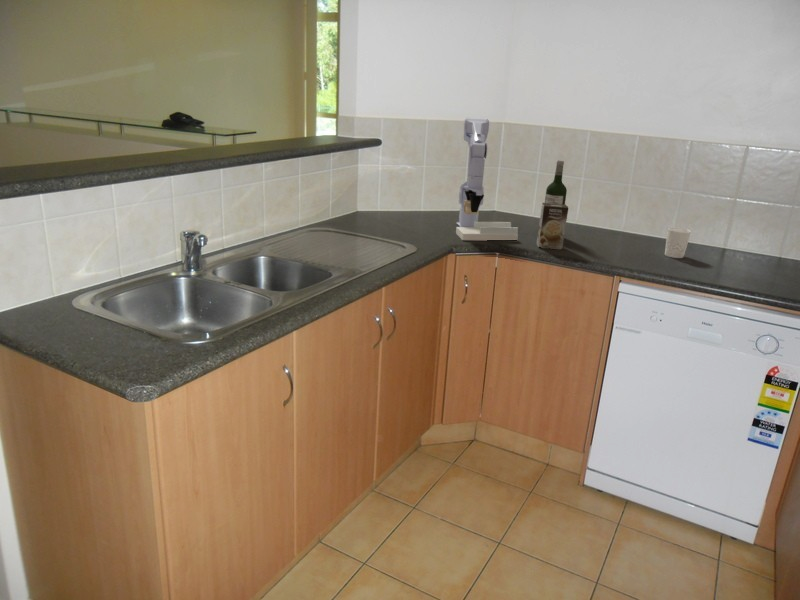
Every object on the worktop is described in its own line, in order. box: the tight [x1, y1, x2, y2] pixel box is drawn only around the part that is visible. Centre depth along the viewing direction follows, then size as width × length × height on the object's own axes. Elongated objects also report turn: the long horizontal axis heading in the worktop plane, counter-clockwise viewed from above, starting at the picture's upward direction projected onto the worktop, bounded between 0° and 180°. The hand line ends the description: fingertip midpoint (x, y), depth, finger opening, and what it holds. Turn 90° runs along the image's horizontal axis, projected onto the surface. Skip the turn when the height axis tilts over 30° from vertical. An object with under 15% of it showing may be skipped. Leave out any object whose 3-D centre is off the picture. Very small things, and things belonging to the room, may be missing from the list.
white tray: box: [455, 221, 519, 241], centre depth 250 cm, size 11×22×5 cm, turn 99°
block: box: [464, 200, 479, 215], centre depth 246 cm, size 4×4×4 cm
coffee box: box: [535, 202, 569, 250], centre depth 239 cm, size 9×6×16 cm
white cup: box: [664, 226, 692, 259], centre depth 237 cm, size 8×8×10 cm
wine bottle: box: [544, 159, 568, 205], centre depth 253 cm, size 8×8×30 cm
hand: (472, 210), depth 246 cm, fingers closed on block, 4 cm apart
